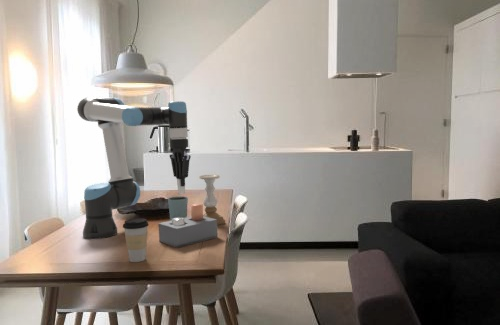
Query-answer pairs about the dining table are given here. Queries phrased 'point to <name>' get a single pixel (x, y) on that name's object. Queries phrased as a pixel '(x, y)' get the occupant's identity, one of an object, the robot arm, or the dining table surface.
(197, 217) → the brown egg
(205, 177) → the candle holder
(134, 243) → the coffee cup
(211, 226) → the block with square holes
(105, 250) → the dining table surface
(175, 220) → the silver rounded piece
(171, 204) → the drinking glass
